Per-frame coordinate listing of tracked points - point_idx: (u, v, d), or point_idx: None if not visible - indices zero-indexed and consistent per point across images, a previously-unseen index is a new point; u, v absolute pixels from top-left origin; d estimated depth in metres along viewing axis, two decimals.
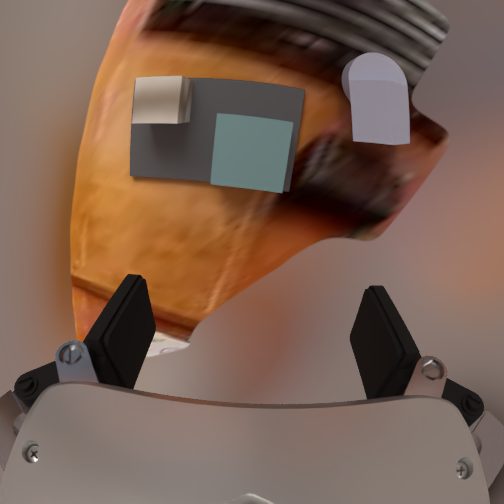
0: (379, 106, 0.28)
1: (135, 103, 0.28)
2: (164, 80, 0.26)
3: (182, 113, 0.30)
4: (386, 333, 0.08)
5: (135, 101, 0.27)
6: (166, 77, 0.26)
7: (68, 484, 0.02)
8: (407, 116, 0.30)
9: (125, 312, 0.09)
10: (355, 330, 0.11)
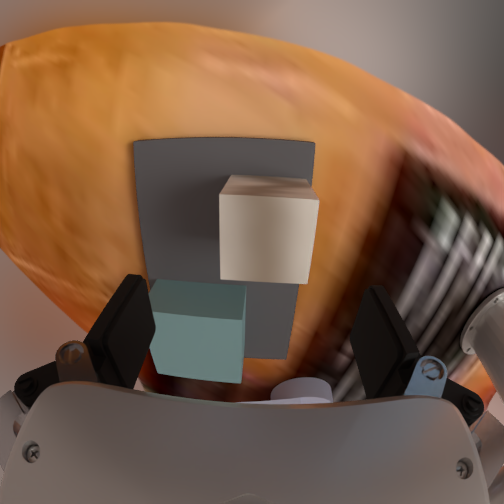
0: None
1: (262, 200, 0.16)
2: (302, 255, 0.18)
3: None
4: (386, 333, 0.08)
5: (266, 200, 0.16)
6: (308, 259, 0.18)
7: (68, 484, 0.02)
8: None
9: (125, 312, 0.09)
10: (355, 330, 0.11)
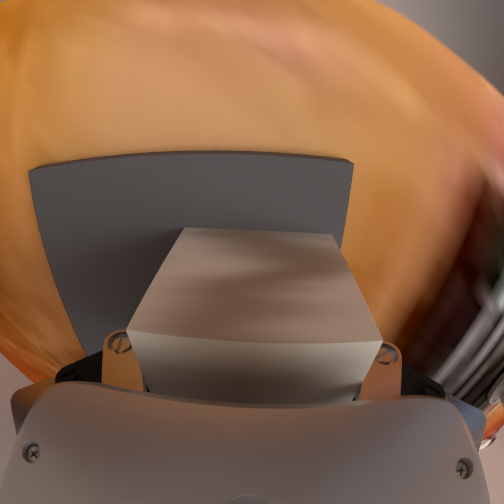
0: None
1: (236, 350, 0.06)
2: None
3: None
4: None
5: (248, 349, 0.06)
6: None
7: (68, 484, 0.02)
8: None
9: None
10: None
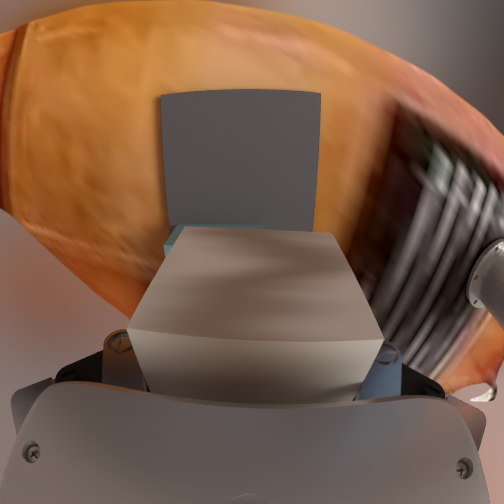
0: None
1: (237, 348, 0.06)
2: None
3: None
4: None
5: (248, 348, 0.06)
6: None
7: (68, 484, 0.02)
8: None
9: None
10: None
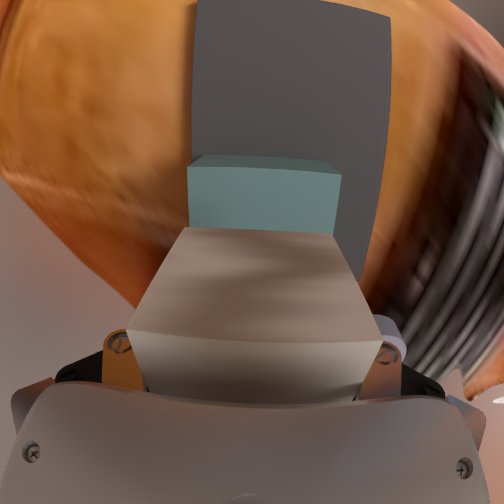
0: None
1: (236, 349, 0.06)
2: None
3: None
4: None
5: (248, 349, 0.06)
6: None
7: (68, 484, 0.02)
8: None
9: None
10: None
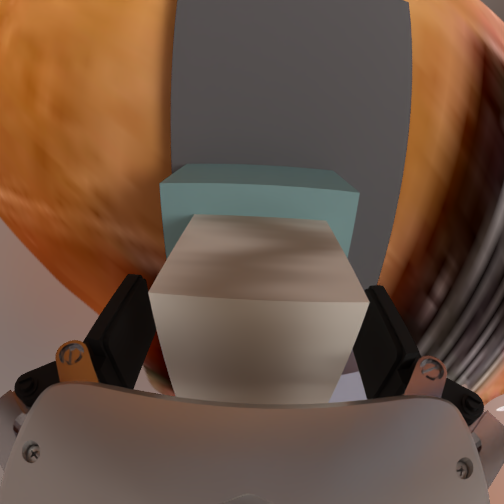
0: None
1: (243, 308, 0.07)
2: (321, 384, 0.09)
3: None
4: (385, 333, 0.08)
5: (253, 307, 0.07)
6: (330, 388, 0.09)
7: (68, 484, 0.02)
8: None
9: (125, 312, 0.09)
10: None
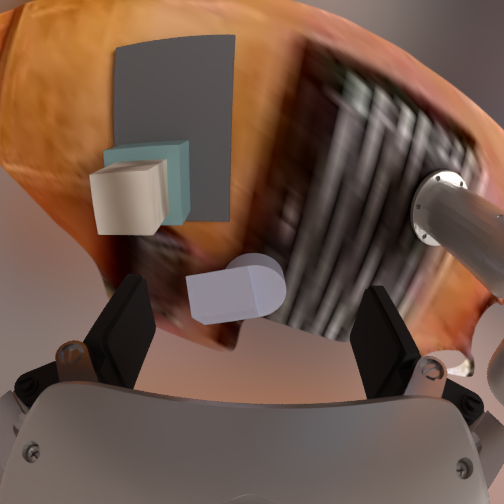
0: (225, 299, 0.36)
1: (113, 175, 0.21)
2: (144, 212, 0.23)
3: None
4: (386, 333, 0.08)
5: (115, 175, 0.21)
6: (149, 215, 0.23)
7: (68, 484, 0.02)
8: (228, 320, 0.40)
9: (125, 312, 0.09)
10: (355, 330, 0.11)
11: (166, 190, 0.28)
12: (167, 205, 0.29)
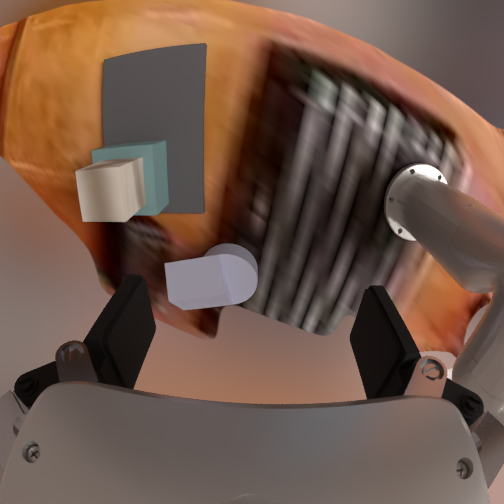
0: (198, 285, 0.38)
1: (93, 171, 0.25)
2: (118, 202, 0.26)
3: None
4: (386, 333, 0.08)
5: (95, 171, 0.24)
6: (122, 204, 0.26)
7: (68, 484, 0.02)
8: (204, 306, 0.43)
9: (125, 312, 0.09)
10: (355, 330, 0.11)
11: (142, 184, 0.31)
12: (144, 197, 0.32)
